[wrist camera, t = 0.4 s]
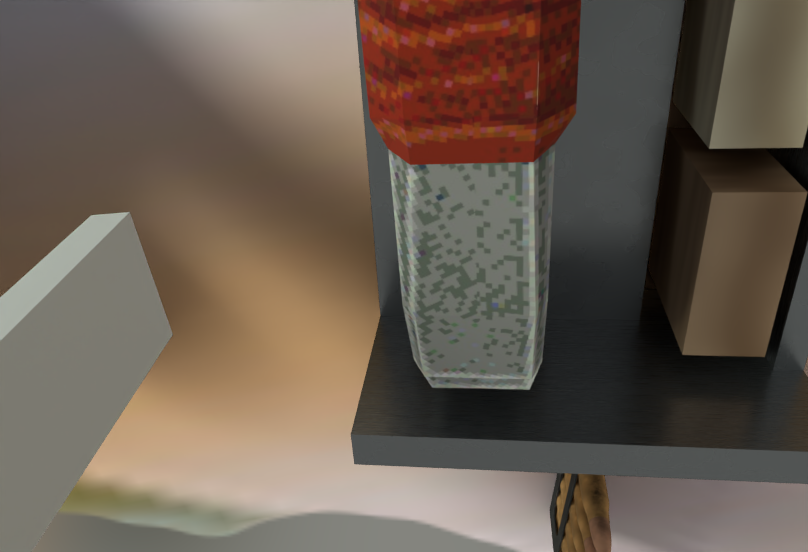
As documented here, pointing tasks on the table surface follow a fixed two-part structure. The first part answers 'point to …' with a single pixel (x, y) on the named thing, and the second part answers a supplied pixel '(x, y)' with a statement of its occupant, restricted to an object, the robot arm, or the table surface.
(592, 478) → the ammunition clip
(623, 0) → the rack
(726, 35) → the birch offcut
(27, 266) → the table surface
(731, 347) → the walnut offcut
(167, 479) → the table surface
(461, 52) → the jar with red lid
